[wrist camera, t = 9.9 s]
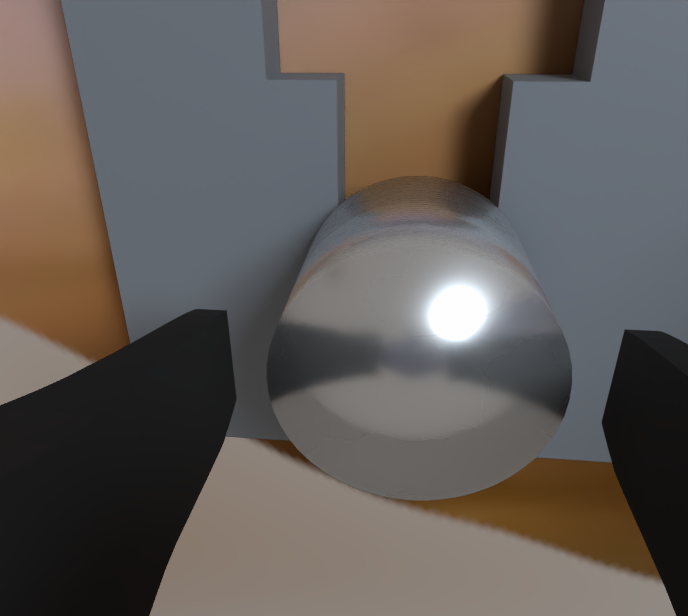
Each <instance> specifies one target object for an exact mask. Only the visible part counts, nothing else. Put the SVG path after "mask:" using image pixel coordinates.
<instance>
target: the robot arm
mask: <svg viewBox="0 0 688 616" xmlns="http://www.w3.org/2000/svg"><path fill="white" fill-rule="evenodd" d="M236 400H237V398H236V389H235V380H234V371H233V362H232V353H231V343H230V334H229V325H228V316H227V310H209V309H194V310H192V311H189V312H187V313H185V314H183V315H181V316H179V317H177V318H175V319H173V320H172V321H170V322H168V323H166V324H164V325H163V326H161V327H159V328H157V329H155V330H154V331H152V332H150V333H148V334H147V335H145V336H143V337H141V338H139V339H138V340H136V341H134V342H132V343H131V344H129V345H127V346H125V347H123V348H122V349H120V350H118V351H116V352H114V353H113V354H111V355H109V356H107V357H105V358H103V359H101V360H99V361H97V362H95V363H93V364H91V365H89V366H87V367H85V368H83V369H81V370H79V371H77V372H76V373H73V374H72V375H70V376H68V377H66V378H63V379H61V380H59V381H57V382H55V383H53V384H50V385H48V386H46V387H44V388H41V389H39V390H37V391H35V392H32V393H30V394H27V395H25V396H22V397H20V398H18V399H15V400H13V401H10V402H8V403H5V404H3V405H0V616H149V615H150V612H151V609H152V606H153V603H154V600H155V597H156V595H157V592H158V589H159V586H160V583H161V580H162V578H163V575H164V572H165V569H166V566H167V564H168V562H169V559H170V557H171V555H172V552H173V550H174V547H175V545H176V542H177V540H178V538H179V536H180V534H181V532H182V530H183V527H184V526H185V524H186V521H187V519H188V517H189V515H190V513H191V511H192V509H193V507H194V505H195V503H196V501H197V498H198V496H199V494H200V492H201V490H202V488H203V486H204V484H205V482H206V480H207V477H208V475H209V473H210V471H211V469H212V467H213V464H214V462H215V460H216V458H217V456H218V454H219V452H220V449H221V447H222V445H223V442H224V439H225V436H226V433H227V430H228V427H229V424H230V421H231V417H232V414H233V410H234V407H235V403H236ZM601 423H602V427H603V431H604V435H605V439H606V443H607V447H608V450H609V454H610V457H611V461H612V464H613V468H614V471H615V474H616V476H617V478H618V481H619V483H620V486H621V488H622V490H623V493H624V495H625V497H626V500H627V502H628V504H629V507H630V509H631V511H632V513H633V516H634V518H635V520H636V522H637V525H638V527H639V529H640V531H641V534H642V536H643V538H644V540H645V543H646V545H647V547H648V550H649V552H650V554H651V556H652V559H653V561H654V563H655V565H656V568H657V570H658V572H659V574H660V577H661V579H662V581H663V583H664V586H665V588H666V591H667V593H668V596H669V598H670V601H671V603H672V606H673V608H674V611H675V613H676V616H688V344H687V343H685V342H683V341H681V340H679V339H677V338H675V337H673V336H671V335H669V334H667V333H664V332H662V331H648V330H627V329H625V330H624V334H623V338H622V342H621V346H620V350H619V354H618V358H617V362H616V366H615V370H614V374H613V378H612V382H611V386H610V390H609V394H608V398H607V402H606V406H605V410H604V414H603V418H602V422H601Z"/></svg>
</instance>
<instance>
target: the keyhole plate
mask: <svg viewBox="0 0 688 616" xmlns="http://www.w3.org/2000/svg"><path fill="white" fill-rule="evenodd" d="M61 3H62V8H63V13H64V18H65V23H66V28H67V33H68V38H69V43H70V48H71V53H72V58H73V63H74V68H75V73H76V78H77V83H78V87H79V92H80V97H81V102H82V107H83V112H84V117H85V122H86V127H87V132H88V137H89V142H90V147H91V152H92V157H93V162H94V167H95V171H96V176H97V181H98V186H99V191H100V196H101V201H102V206H103V211H104V216H105V221H106V226H107V231H108V236H109V241H110V246H111V251H112V255H113V260H114V265H115V270H116V275H117V280H118V285H119V290H120V295H121V300H122V305H123V310H124V315H125V320H126V325H127V330H128V335H129V340H130V344H131V343H132V342H134V341H136V340H138V339H139V338H141V337H143V336H145V335H147V334H148V333H150V332H152V331H154V330H155V329H157V328H159V327H161V326H163V325H164V324H166V323H168V322H170V321H172V320H173V319H175V318H177V317H179V316H181V315H183V314H185V313H187V312H189V311H192V310H194V309H209V310H227V316H228V325H229V334H230V343H231V353H232V362H233V371H234V380H235V389H236V398H237V400H236V403H235V407H234V410H233V414H232V417H231V421H230V424H229V427H228V430H227V433H226V436H227V437H242V438H256V439H271V440H286V441H290V439H289V438H288V437H287V435H286V433H285V432H284V430H283V429H282V427H281V426H280V424H279V422H278V419H277V417H276V415H275V413H274V411H273V408H272V404H271V401H270V397H269V393H268V386H267V359H268V353H269V347H270V344H271V341H272V338H273V335H274V332H275V330H276V327H277V325H278V323H279V320H280V318H281V316H282V313H283V311H284V308H285V306H286V304H287V301H288V299H289V297H290V294H291V292H292V290H293V287H294V285H295V283H296V280H297V278H298V275H299V273H300V271H301V268H302V266H303V264H304V261H305V259H306V257H307V254H308V252H309V250H310V247H311V245H312V243H313V240H314V238H315V236H316V234H317V232H318V230H319V229H320V227H321V226H322V224H323V223H324V221H325V220H326V219H327V217H328V216H329V215H330V214H331V213H332V212H333V211H334V210H335V208H336V207H337V206H339V205H340V204H341V203H342V202H343V201H345V98H344V73H281V72H280V53H279V34H278V14H277V0H61ZM489 200H490V201H491V202H492V203H493V204H494V205H495V206H496V207H497V208H498V209H500V210H501V211H502V212H503V214H504V215H505V216H506V218H507V219H508V220H509V221H510V223H511V224H512V226H513V228H514V229H515V231H516V233H517V235H518V237H519V239H520V241H521V243H522V245H523V247H524V250H525V252H526V254H527V256H528V258H529V260H530V263H531V265H532V267H533V269H534V271H535V273H536V275H537V278H538V280H539V282H540V284H541V286H542V288H543V290H544V293H545V295H546V297H547V299H548V301H549V303H550V306H551V308H552V310H553V312H554V314H555V316H556V318H557V321H558V323H559V325H560V327H561V329H562V331H563V334H564V337H565V340H566V342H567V345H568V348H569V353H570V358H571V364H572V387H571V394H570V400H569V403H568V407H567V410H566V413H565V416H564V418H563V420H562V422H561V424H560V426H559V428H558V430H557V432H556V433H555V435H554V436H553V438H552V439H551V440H550V442H549V443H548V445H547V446H546V447H545V448H544V449H543V450H542V451H541V452H540V454H539V455H538V456H537V457H539V458H554V459H569V460H583V461H598V462H612V461H611V457H610V454H609V450H608V447H607V443H606V439H605V435H604V431H603V427H602V423H601V422H602V418H603V414H604V410H605V406H606V402H607V398H608V394H609V390H610V386H611V382H612V378H613V374H614V370H615V366H616V362H617V358H618V354H619V350H620V346H621V342H622V338H623V334H624V330H625V329H627V330H648V331H662V332H664V333H667V334H669V335H671V336H673V337H675V338H677V339H679V340H681V341H683V342H685V343H687V344H688V0H584V6H583V12H582V18H581V24H580V30H579V36H578V42H577V49H576V55H575V61H574V67H573V73H572V74H503V83H502V91H501V100H500V109H499V118H498V127H497V136H496V145H495V153H494V162H493V171H492V180H491V189H490V198H489Z"/></svg>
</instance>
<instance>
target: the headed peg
mask: <svg viewBox="0 0 688 616" xmlns="http://www.w3.org/2000/svg"><path fill="white" fill-rule="evenodd" d="M267 386H268V393H269V397H270V401H271V404H272V408H273V411H274V413H275V415H276V417H277V419H278V422H279V424H280V426H281V427H282V429H283V430H284V432H285V433H286V435H287V437H288V438H289V439H290V441H291V442H292V443H293V444H294V445H295V447H296V448H297V449H298V450H299V451H300V452H301V453H302V454H303V455H304V456H305V457H306V458H307V459H308V460H309V461H310V462H311V463H313V464H314V465H315V466H317V467H318V468H319V469H321V470H322V471H324V472H325V473H327V474H328V475H330V476H332V477H333V478H335V479H337V480H339V481H341V482H343V483H345V484H347V485H349V486H352V487H354V488H356V489H359V490H362V491H365V492H368V493H371V494H375V495H380V496H384V497H388V498H396V499H403V500H423V501H424V500H441V499H448V498H454V497H460V496H463V495H467V494H471V493H475V492H478V491H481V490H483V489H486V488H489V487H491V486H494V485H496V484H498V483H500V482H501V481H503V480H505V479H507V478H509V477H511V476H512V475H514V474H515V473H517V472H518V471H520V470H521V469H523V468H524V467H525V466H526V465H528V464H529V463H530V462H531V461H532V460H533V459H535V458H536V457H537V456H538V455H539V454H540V452H541V451H542V450H543V449H544V448H545V447H546V446H547V445H548V443H549V442H550V440H551V439H552V438H553V436H554V435H555V433H556V432H557V430H558V428H559V426H560V424H561V422H562V420H563V418H564V416H565V413H566V410H567V407H568V403H569V400H570V394H571V387H572V364H571V358H570V353H569V348H568V345H567V342H566V340H565V337H564V334H563V331H562V329H561V327H560V325H559V323H558V321H557V318H556V316H555V314H554V312H553V310H552V308H551V306H550V303H549V301H548V299H547V297H546V295H545V293H544V290H543V288H542V286H541V284H540V282H539V280H538V278H537V275H536V273H535V271H534V269H533V267H532V265H531V263H530V260H529V258H528V256H527V254H526V252H525V250H524V247H523V245H522V243H521V241H520V239H519V237H518V235H517V233H516V231H515V229H514V228H513V226H512V224H511V223H510V221H509V220H508V219H507V218H506V216H505V215H504V214H503V212H502V211H501V210H500V209H498V208H497V207H496V206H495V205H494V204H493V203H492V202H491V201H490V200H488V199H487V198H486V197H484V196H483V195H482V194H480V193H478V192H476V191H475V190H473V189H471V188H469V187H467V186H465V185H462V184H459V183H457V182H454V181H451V180H446V179H442V178H438V177H429V176H404V177H398V178H392V179H388V180H384V181H381V182H378V183H375V184H373V185H370V186H368V187H366V188H363V189H361V190H360V191H358V192H356V193H355V194H353V195H351V196H350V197H348V198H347V199H346V200H345V201H343V202H342V203H341V204H340V205H339V206H337V207H336V208H335V210H334V211H333V212H332V213H331V214H330V215H329V216H328V217H327V219H326V220H325V221H324V223H323V224H322V226H321V227H320V229H319V230H318V232H317V234H316V236H315V238H314V240H313V243H312V245H311V247H310V250H309V252H308V254H307V257H306V259H305V261H304V264H303V266H302V268H301V271H300V273H299V275H298V278H297V280H296V283H295V285H294V287H293V290H292V292H291V294H290V297H289V299H288V301H287V304H286V306H285V308H284V311H283V313H282V316H281V318H280V320H279V323H278V325H277V327H276V330H275V332H274V335H273V338H272V341H271V344H270V347H269V353H268V359H267Z"/></svg>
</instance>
